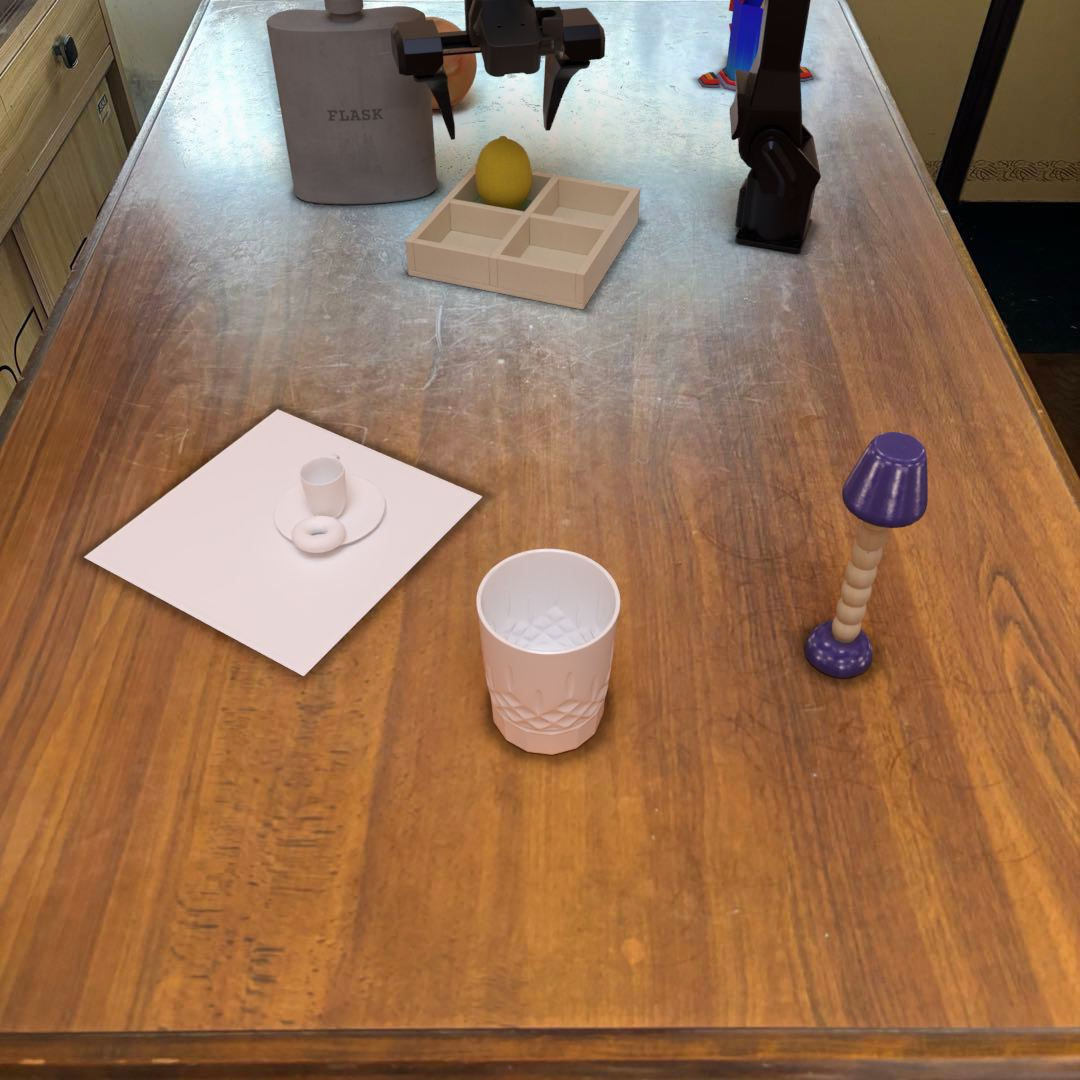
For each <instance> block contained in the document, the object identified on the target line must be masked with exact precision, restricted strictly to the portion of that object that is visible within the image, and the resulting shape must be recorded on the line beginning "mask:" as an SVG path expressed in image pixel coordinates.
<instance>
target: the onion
mask: <svg viewBox="0 0 1080 1080" xmlns="http://www.w3.org/2000/svg"><path fill="white" fill-rule="evenodd" d="M426 20H433V21H434V23H435V25H436V27H437V30H438V32H439V33H440V32H453V31H462V30H461V28H460V27H458V26H457V25H456V24H455V23H454V22H451V21H449V20H447V19H444V18H441V17H439V16H438V17H437V16H426ZM443 61H444V64H443V67H444V69H445V72H446V74H447V76H448V89H449V95H450V101H451V106H452V107H453V106H456V105H458V104H460V103H461V102H462V101H463V99H464V98H465V97H466V96H467V95H468V93H469V91H470V90H471V88H472V86H473V84H474V81H475V79H476V75H477V70H478V60H477V53H473V54H461V55H449V56H443ZM431 102H432V110H440V109H439V106H438V103H437V101H436V99H435V97H434V95H433V94H432V92H431Z"/></svg>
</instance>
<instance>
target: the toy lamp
mask: <svg viewBox="0 0 1080 1080" xmlns="http://www.w3.org/2000/svg"><path fill="white" fill-rule="evenodd" d="M928 479H929V478H928V453H927V449H926V448H925V446H924V444H923V443H922V442H921V441H920V440H919V439H917V438H916V437H915V436H912V435H911V434H909V433H906V432H899V431H886V432H885V431H884V432H882V433H879V434H877V435H876V436H874V438H872V439H871V441H870V442H869V443H868V445H867V446H866V447H865V449H864V451H863V452H862V454H861V455H860V457H859V459H858V460H857V462H856V463H855V465H854V467H853V468H852V469H851V471H850V473H849V475H848V476H847V478H846V479H845V481H844V484H843V486H842V490H841V498H842V502H843V504H844V506H845V507H846V509H847V510H848V511H849V513H851V514H852V515H853V516H855V518H857V519H858V520H861V522H860V523H859V524H858V526H857V528H856V531H855V532H856V533H855V535H856V538H855V539H856V540H855V542H854V543H853V545H852V547H851V551H850V558H851V559H850V560H849V561H848V563H847V565H846V568H845V573H844V574H845V579H844V580H843V582H842V584H841V587H840V598H839V599H838V601H837V604H836V610H835V611H836V615H835V616H834V618H833V619H831V620H827V621H825V622H822V623H820V624H818V625H817V626H816V627H814V628H813V629H812V630H811V632H809V634H808V636H807V637H806V640H805V643H804V654H805V657H806V659H807V660H808V662H809V663H810V664H811V665H812V666H813V667H814V668H816V670H818V671H820V672H821V673H824V674H825V675H827V676H831V677H834V678H843V679H848V678H853V677H856V676H859V675H861V674H863V673H865V672H866V671H867V670H868V669H869V668H870V666H871V665H872V661H873V656H874V655H873V646H872V643H871V640H870V638H869V636H868V635H867V633H866V632H864V630H863V629H862V620H863V619H864V618H865V615H866V613H867V606H868V605H867V602H869V600H870V599H871V597H872V593H873V586H872V585H873V583H874V582H875V580H876V578H877V575H878V574H877V573H878V566H877V565H878V564H880V562H881V560H882V557H883V551H884V550H883V546H884V545H885V544H886V542H887V541H888V538H889V533H890V531H889V530H890V529H899V528H901V529H902V528H906V527H910V526H912V525H913V524H916V523H917V522H919V521H920V520H921V519H922V518H923V516H925V514H926V511H927V507H928V502H929V499H928V498H929V491H928V490H929V488H928V487H929V485H928V483H929V482H928V481H929V480H928Z"/></svg>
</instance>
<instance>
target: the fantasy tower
mask: <svg viewBox="0 0 1080 1080" xmlns="http://www.w3.org/2000/svg"><path fill="white" fill-rule="evenodd" d="M764 1H765V0H729V5H728V11H729V12H732V15H731V23H728V26H729V39H728V40H729V41H728V48H727V49H728V51H727V59H726V66H725V67H724V68H721V70H719V72H717V73H716V74H715V72H713V71H709V72H706V73H704V74H702V75H701V76H700V77H698V79H697V81H698V83H699V84H700V85H701V87H702V88H715V89H716V88H721V86H722V88H723V89H725V90H730V91H734V92H736V81H735V70H737V69H738V70H742V71H747V72H750V70H751V67H752V65H753V62H754V60H755V58H756V55H757V52H758V46H759V39H760V31H761V24H762V16H763V9H764ZM800 79H801V82H806V81H807V82H808V81H810V80H814V79H815V78H814V76H813V74H812V72H811V71H810V70H809V69H808V68H807V66H801V65H800Z"/></svg>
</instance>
